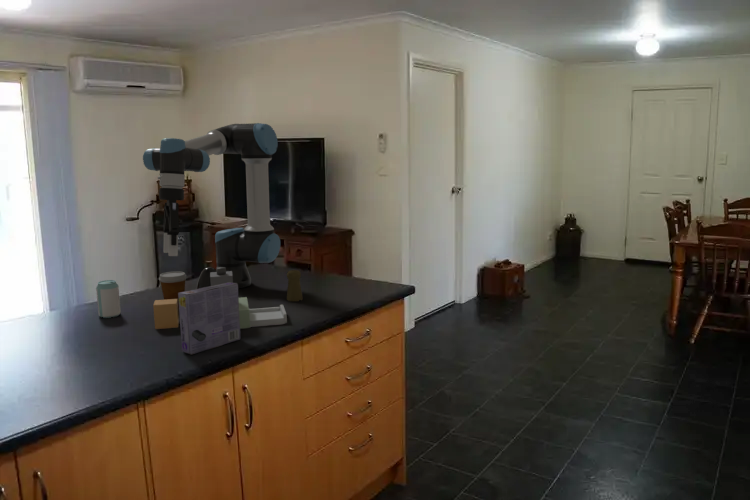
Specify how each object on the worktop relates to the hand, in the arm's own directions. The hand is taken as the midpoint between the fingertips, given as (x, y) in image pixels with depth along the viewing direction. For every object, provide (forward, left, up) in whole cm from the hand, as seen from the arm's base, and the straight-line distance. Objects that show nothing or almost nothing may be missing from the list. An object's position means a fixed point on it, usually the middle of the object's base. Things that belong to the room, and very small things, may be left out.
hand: (170, 254), depth 203 cm
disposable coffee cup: (-23, -2, -24) cm, 33 cm away
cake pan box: (+24, +12, -24) cm, 36 cm away
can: (-17, -23, -24) cm, 37 cm away
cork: (-21, +41, -24) cm, 52 cm away
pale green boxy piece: (+2, +22, -23) cm, 33 cm away
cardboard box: (0, -3, -24) cm, 24 cm away
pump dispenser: (-16, +11, -24) cm, 31 cm away
